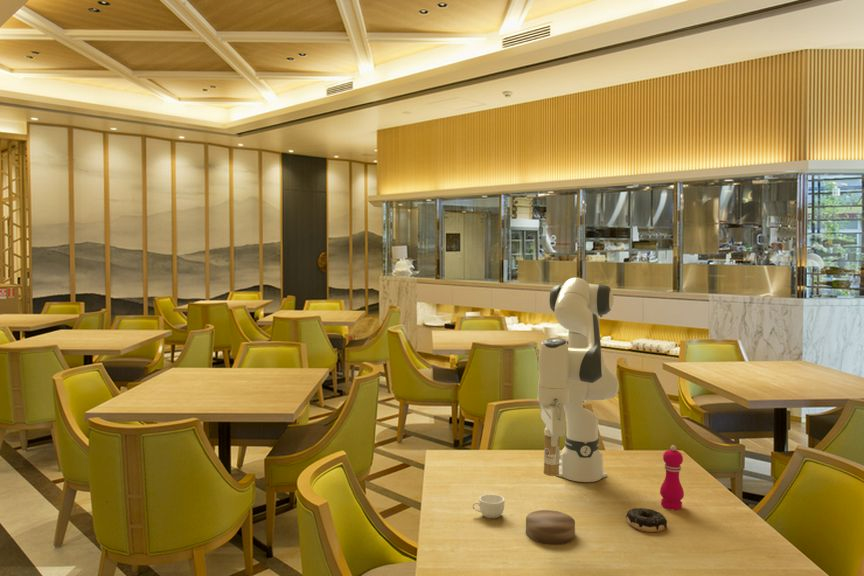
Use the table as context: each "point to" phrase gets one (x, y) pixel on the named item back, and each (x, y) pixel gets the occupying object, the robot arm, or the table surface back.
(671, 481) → the pepper mill
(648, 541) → the table surface
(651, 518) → the donut
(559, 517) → the disc
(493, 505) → the teacup
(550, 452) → the sprinkles bottle
